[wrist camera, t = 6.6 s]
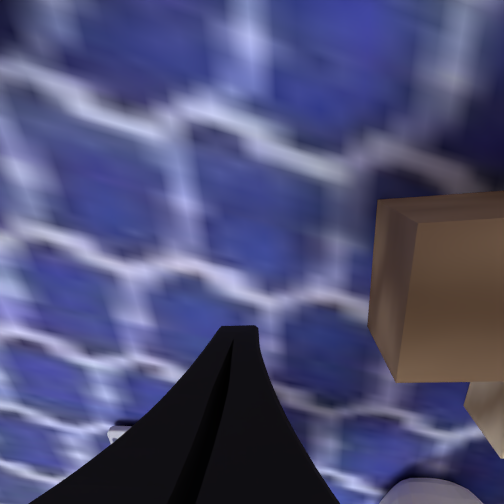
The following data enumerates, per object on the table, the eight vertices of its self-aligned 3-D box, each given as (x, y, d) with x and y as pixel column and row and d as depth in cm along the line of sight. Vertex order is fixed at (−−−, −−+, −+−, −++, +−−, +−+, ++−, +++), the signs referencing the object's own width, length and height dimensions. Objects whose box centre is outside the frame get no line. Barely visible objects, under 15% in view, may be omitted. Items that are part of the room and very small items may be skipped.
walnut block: (482, 320, 15) (551, 380, 11) (366, 324, 15) (395, 382, 12) (517, 188, 12) (622, 210, 9) (376, 198, 13) (417, 223, 9)
